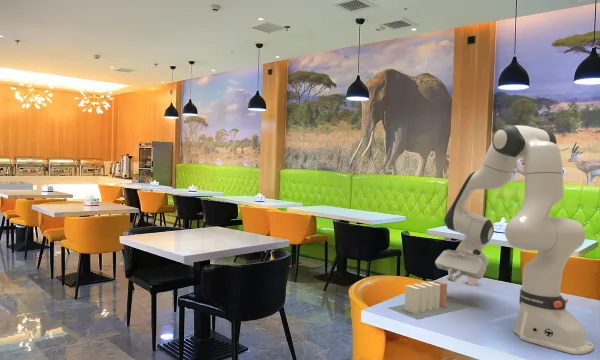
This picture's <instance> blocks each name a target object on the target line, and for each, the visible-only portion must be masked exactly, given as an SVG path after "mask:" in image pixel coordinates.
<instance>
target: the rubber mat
mask: <svg viewBox="0 0 600 360" xmlns="http://www.w3.org/2000/svg"><path fill="white" fill-rule="evenodd" d="M477 306H478V304H475V303H472V302H469V301H465V300H463V299H460V298H456V297H453V296H450V295H447V296H446V307H444V308H443V307H440V306H439V309H435V308H432V310H430V311H429V310H426V309H425V312H421V311H418V313H417V314H414V313H412V312H409V311H406V310H404V309H405V303H404V304H399V305H396V306H395V305H394V306H390V307H388V309H389V310H392V311H394V312H397V313H399V314H402V315H404V316H407V317H410V318H412V319H415V320H417V321H418V320H422V319H426V318H430V317H435V316H440V315H442V314H446V313H452V312H456V311H459V310H465V309H468V308H471V307H477Z"/></svg>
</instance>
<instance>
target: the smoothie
mask: <svg viewBox="0 0 600 360" xmlns="http://www.w3.org/2000/svg"><path fill="white" fill-rule="evenodd" d="M466 278H467V285H469V286H474V285H475V286H477V282H478V279H476V278H472V277H469V276H466Z"/></svg>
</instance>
